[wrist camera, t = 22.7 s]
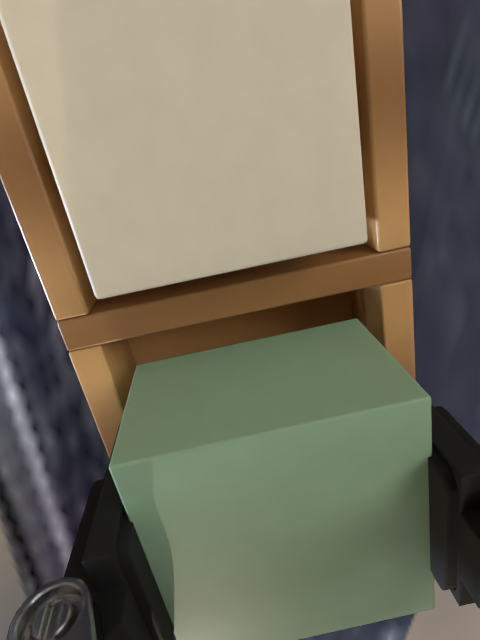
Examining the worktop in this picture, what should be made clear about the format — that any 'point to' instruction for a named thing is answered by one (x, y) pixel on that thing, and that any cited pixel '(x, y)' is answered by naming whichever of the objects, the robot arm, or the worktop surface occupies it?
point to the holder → (236, 286)
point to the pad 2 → (280, 485)
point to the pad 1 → (194, 131)
